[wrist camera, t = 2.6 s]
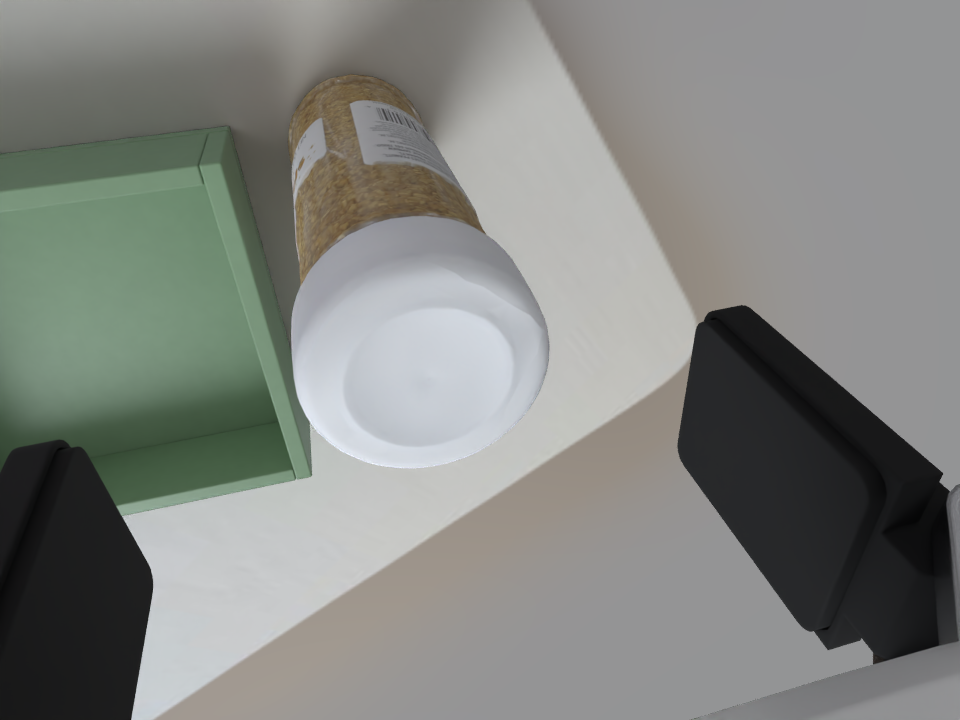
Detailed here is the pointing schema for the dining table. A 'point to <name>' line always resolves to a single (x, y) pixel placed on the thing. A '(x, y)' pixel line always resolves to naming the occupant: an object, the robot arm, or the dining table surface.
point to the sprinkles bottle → (400, 289)
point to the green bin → (145, 320)
